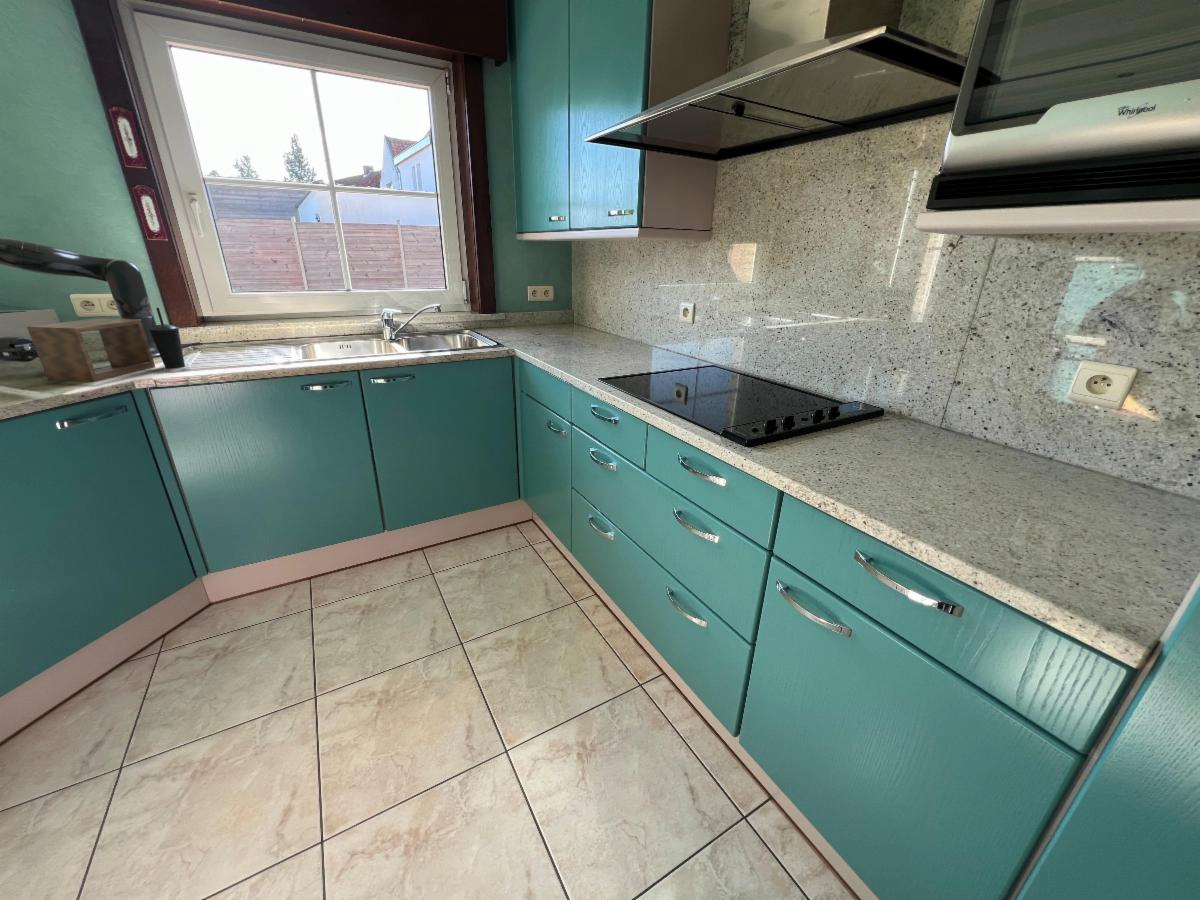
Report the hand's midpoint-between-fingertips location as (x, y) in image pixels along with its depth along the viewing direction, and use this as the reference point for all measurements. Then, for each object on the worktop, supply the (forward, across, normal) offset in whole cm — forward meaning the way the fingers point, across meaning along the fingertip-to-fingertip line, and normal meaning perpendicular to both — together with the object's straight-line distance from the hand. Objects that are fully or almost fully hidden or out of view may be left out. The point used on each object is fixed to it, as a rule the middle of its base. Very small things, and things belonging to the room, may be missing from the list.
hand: (60, 350), depth 149 cm
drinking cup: (+24, +11, +8) cm, 28 cm away
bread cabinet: (+12, 0, +8) cm, 14 cm away
